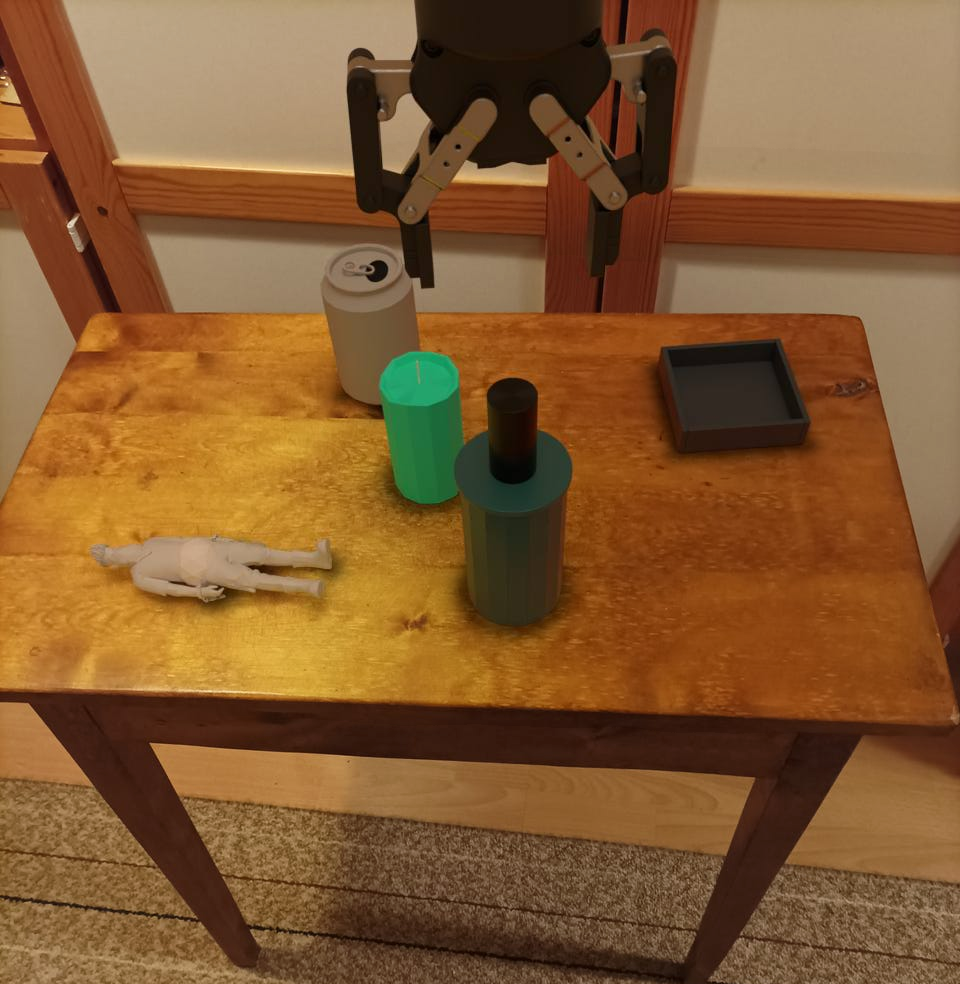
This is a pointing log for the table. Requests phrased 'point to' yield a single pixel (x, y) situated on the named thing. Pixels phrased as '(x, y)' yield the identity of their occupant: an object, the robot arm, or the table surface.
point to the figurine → (211, 565)
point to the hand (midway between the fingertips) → (511, 273)
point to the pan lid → (513, 457)
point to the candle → (423, 424)
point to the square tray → (732, 396)
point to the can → (368, 315)
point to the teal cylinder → (514, 562)
